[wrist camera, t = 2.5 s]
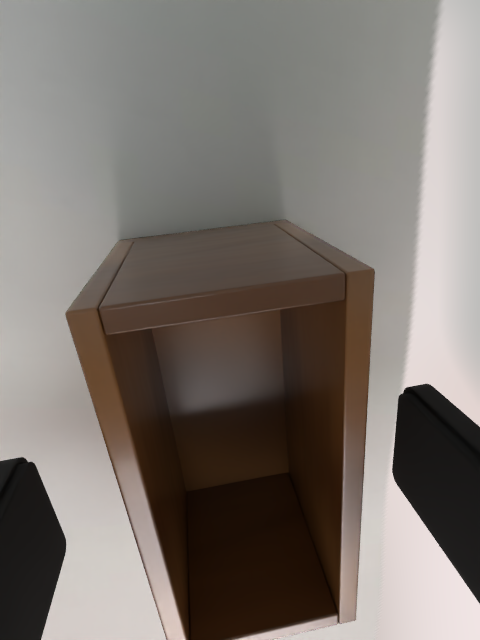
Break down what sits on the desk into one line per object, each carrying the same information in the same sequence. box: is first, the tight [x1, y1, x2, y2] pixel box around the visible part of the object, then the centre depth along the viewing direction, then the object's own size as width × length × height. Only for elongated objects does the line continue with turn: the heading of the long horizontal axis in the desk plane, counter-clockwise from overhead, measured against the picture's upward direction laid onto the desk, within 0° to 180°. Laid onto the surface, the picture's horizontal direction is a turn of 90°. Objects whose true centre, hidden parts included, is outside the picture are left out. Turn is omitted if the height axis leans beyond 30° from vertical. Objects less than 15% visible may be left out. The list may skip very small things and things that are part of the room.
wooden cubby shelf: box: [65, 220, 375, 640], centre depth 10 cm, size 10×5×6 cm, turn 5°
